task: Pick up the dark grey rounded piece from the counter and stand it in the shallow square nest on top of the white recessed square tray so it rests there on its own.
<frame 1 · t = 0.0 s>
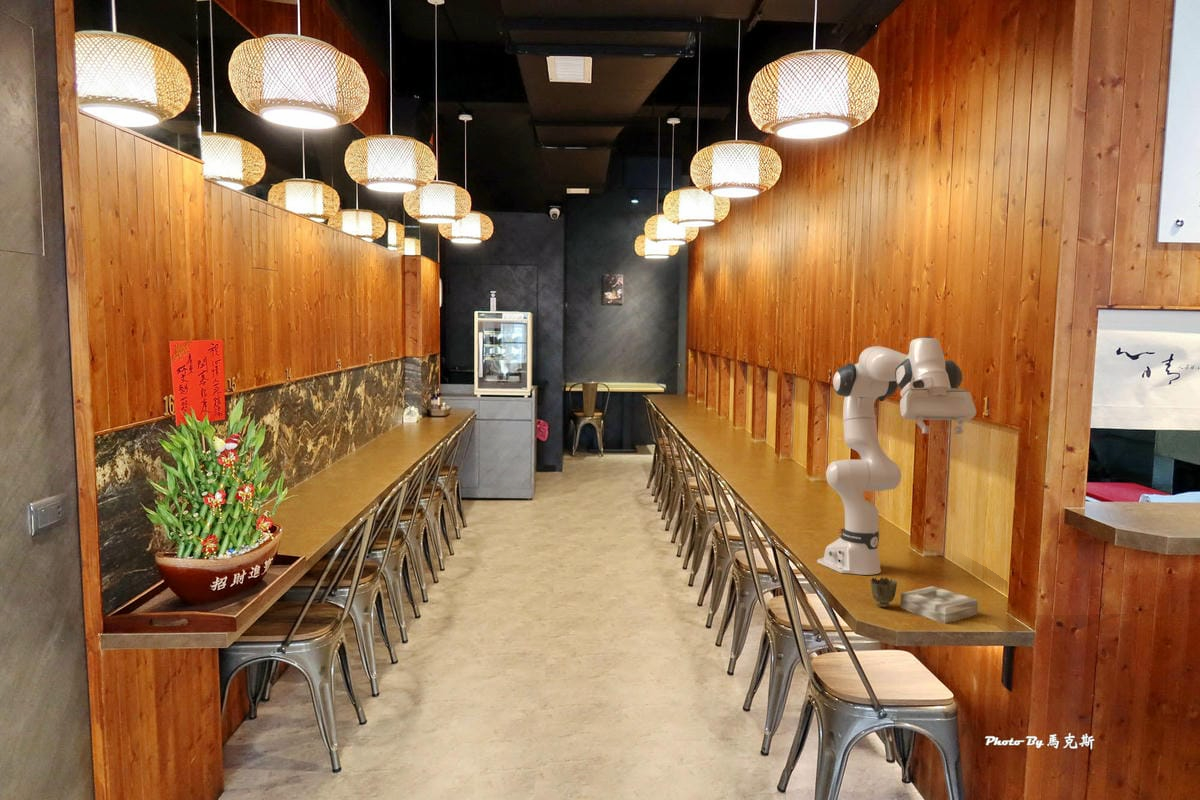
hand: (942, 433, 217), 54 cm above the counter, tool tilted 30°, fingers open, 8 cm apart
white recessed square tray: (938, 612, 232), on the counter
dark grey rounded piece: (882, 607, 236), on the counter
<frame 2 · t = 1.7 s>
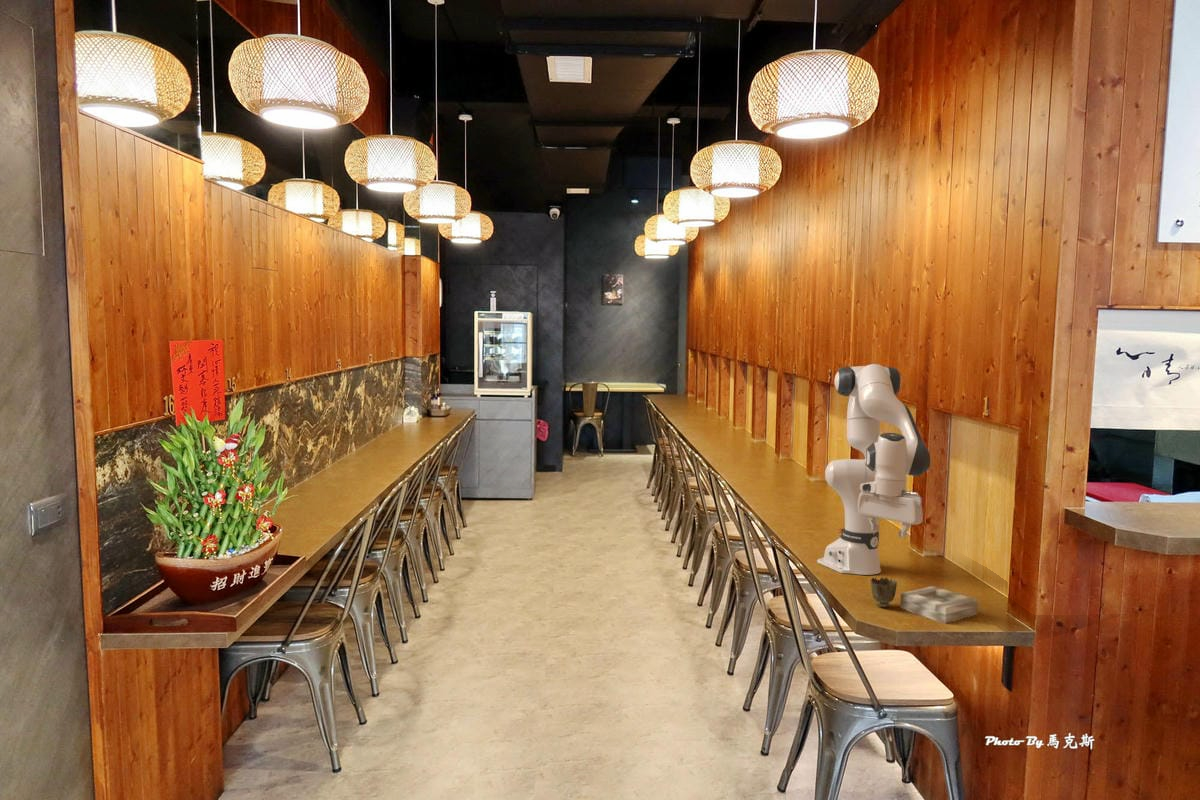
hand: (888, 534, 234), 22 cm above the counter, tool pointing down, fingers open, 8 cm apart
nothing on the counter moved.
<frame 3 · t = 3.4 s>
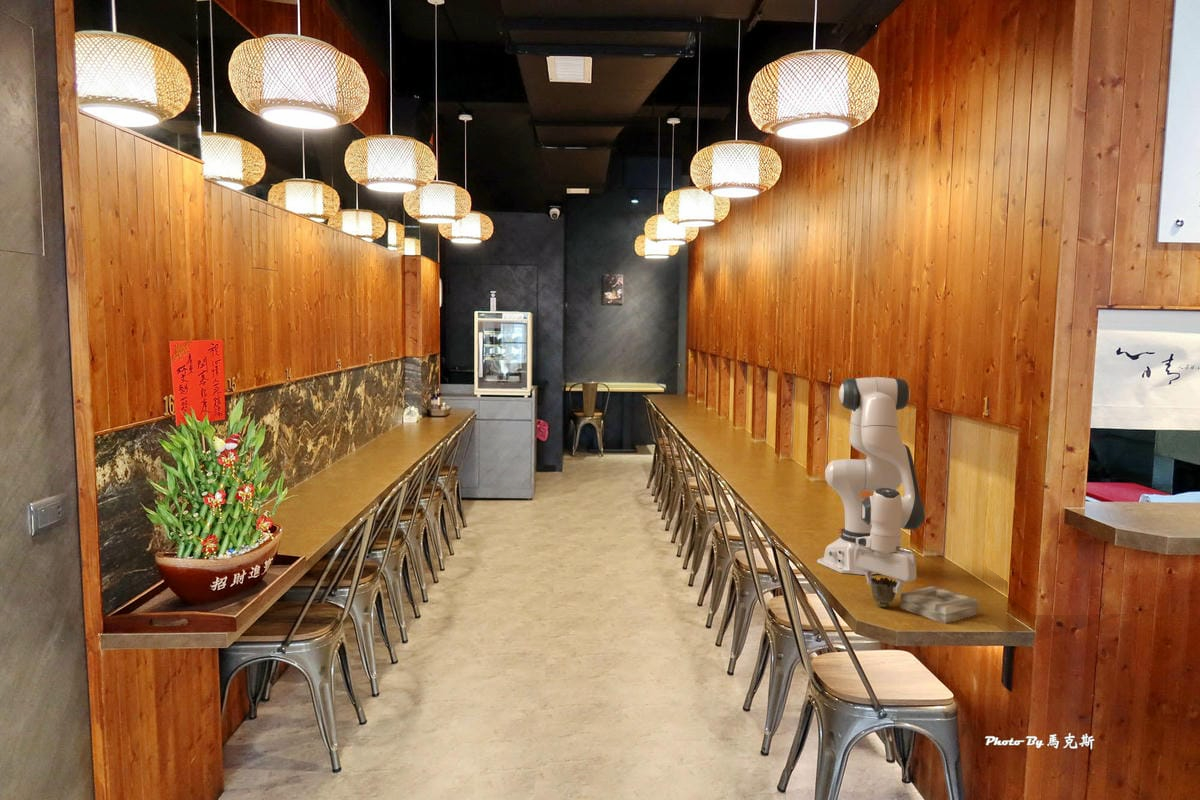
hand: (883, 589, 235), 5 cm above the counter, tool pointing down, fingers open, 8 cm apart
nothing on the counter moved.
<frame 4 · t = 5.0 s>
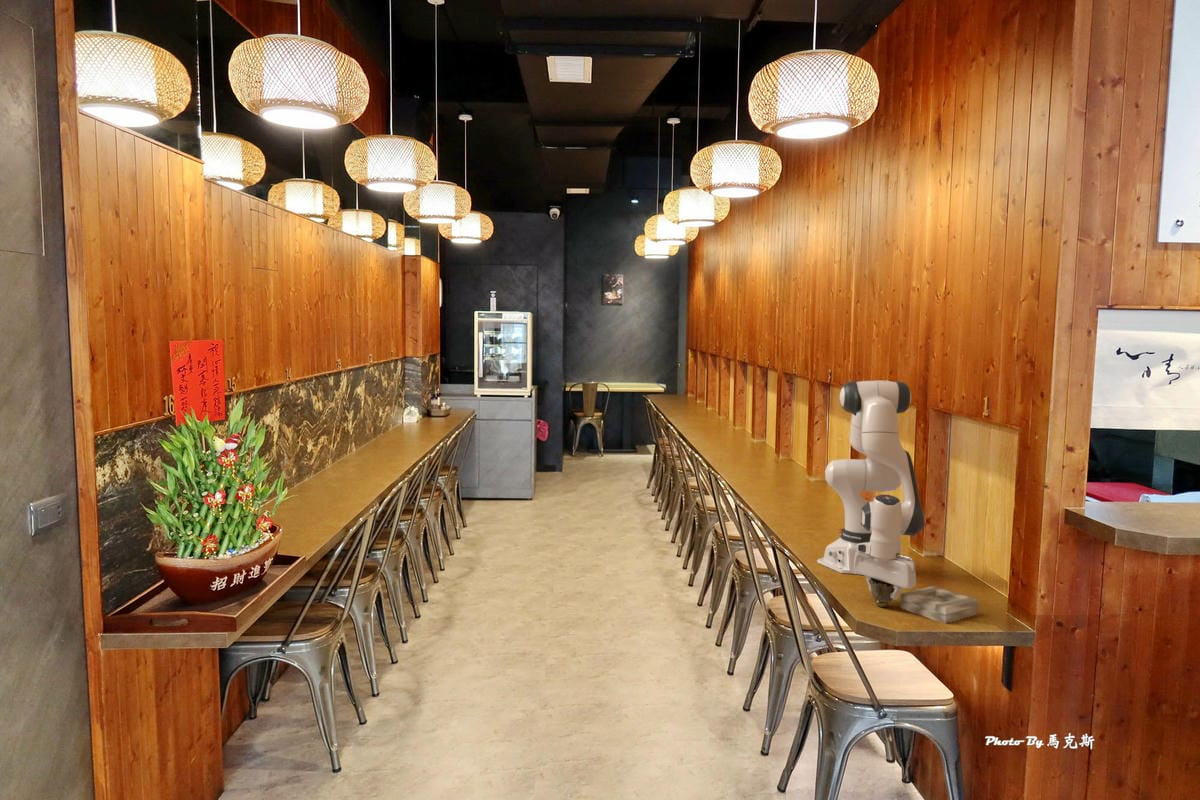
hand: (883, 595, 236), 3 cm above the counter, tool pointing down, fingers closed on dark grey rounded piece, 6 cm apart
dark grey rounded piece: (881, 606, 237), on the counter, touching gripper
everything else where it was.
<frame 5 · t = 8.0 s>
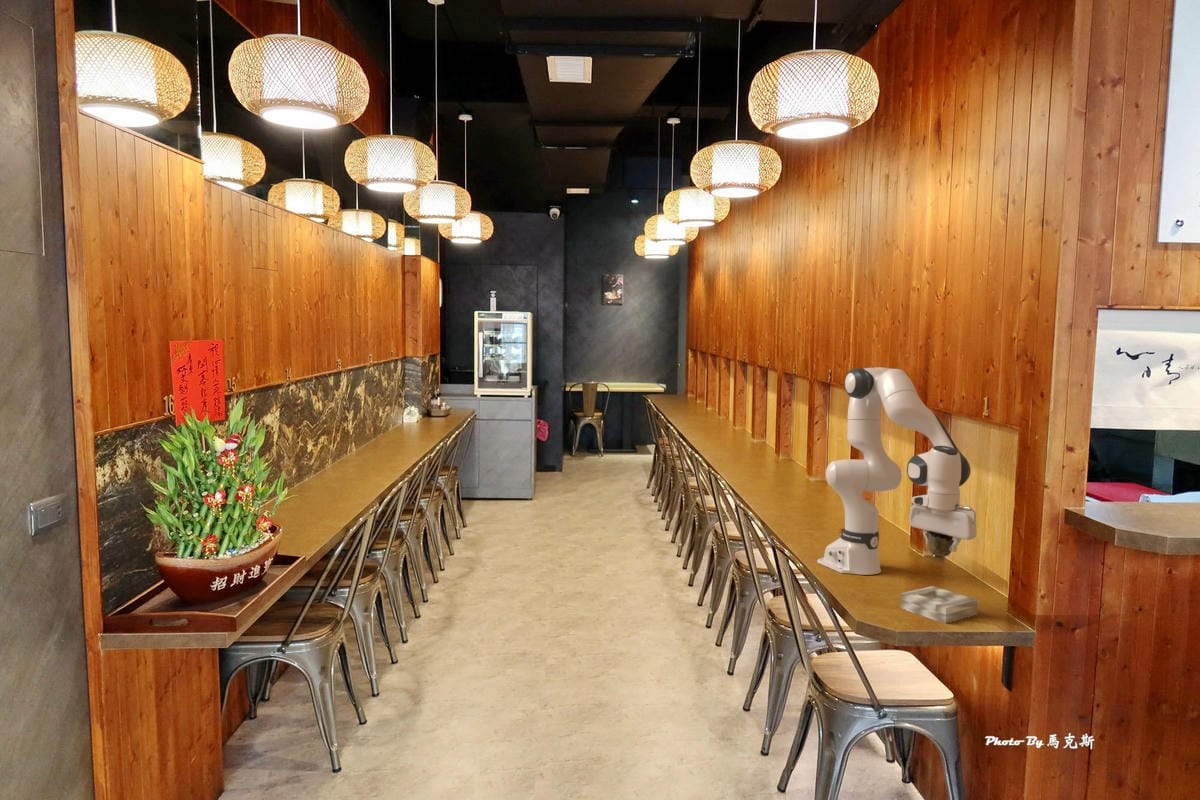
hand: (941, 548, 231), 19 cm above the counter, tool pointing down, fingers closed on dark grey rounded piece, 6 cm apart
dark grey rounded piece: (937, 560, 232), point 15 cm above the counter, touching gripper
everything else where it was.
when the fingers open (7 cm above the counter, at t = 11.6 s): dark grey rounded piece stays where it is, resting on white recessed square tray.
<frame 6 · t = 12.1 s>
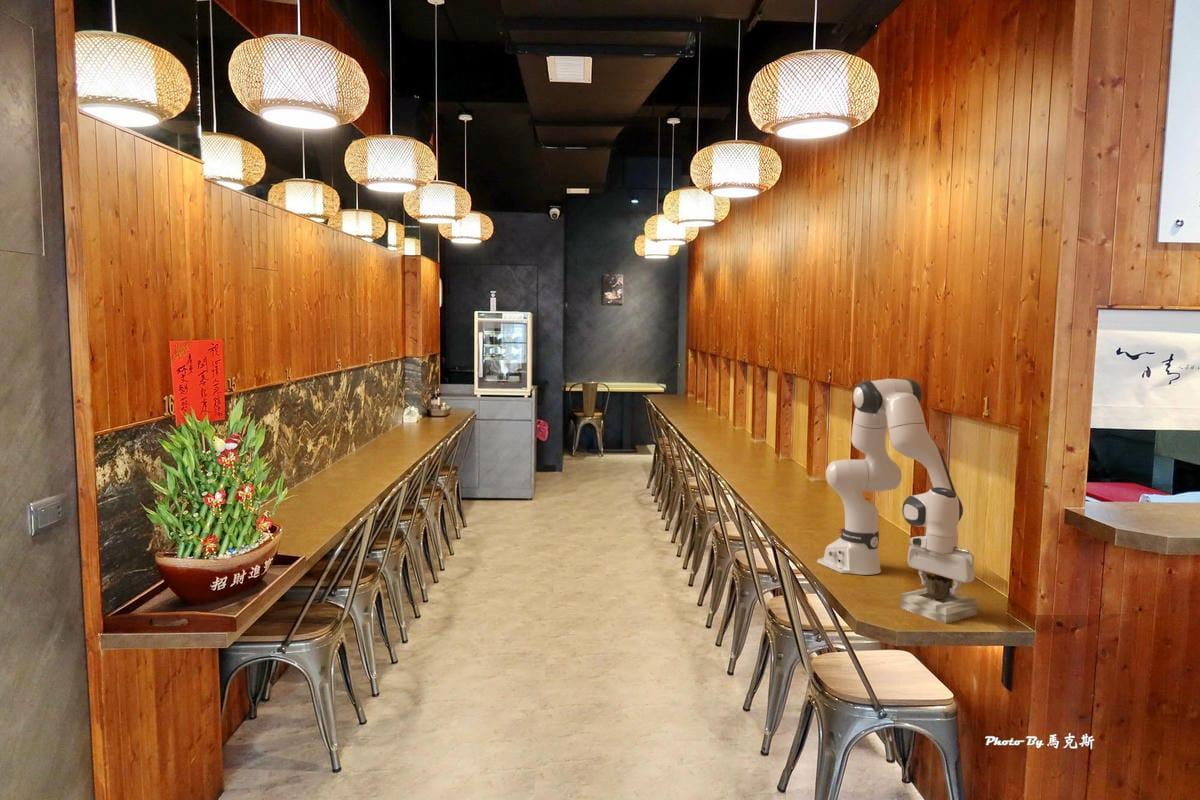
hand: (939, 589, 232), 7 cm above the counter, tool pointing down, fingers open, 8 cm apart
white recessed square tray: (938, 613, 232), on the counter, touching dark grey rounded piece
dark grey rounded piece: (938, 603, 233), point 2 cm above the counter, touching white recessed square tray
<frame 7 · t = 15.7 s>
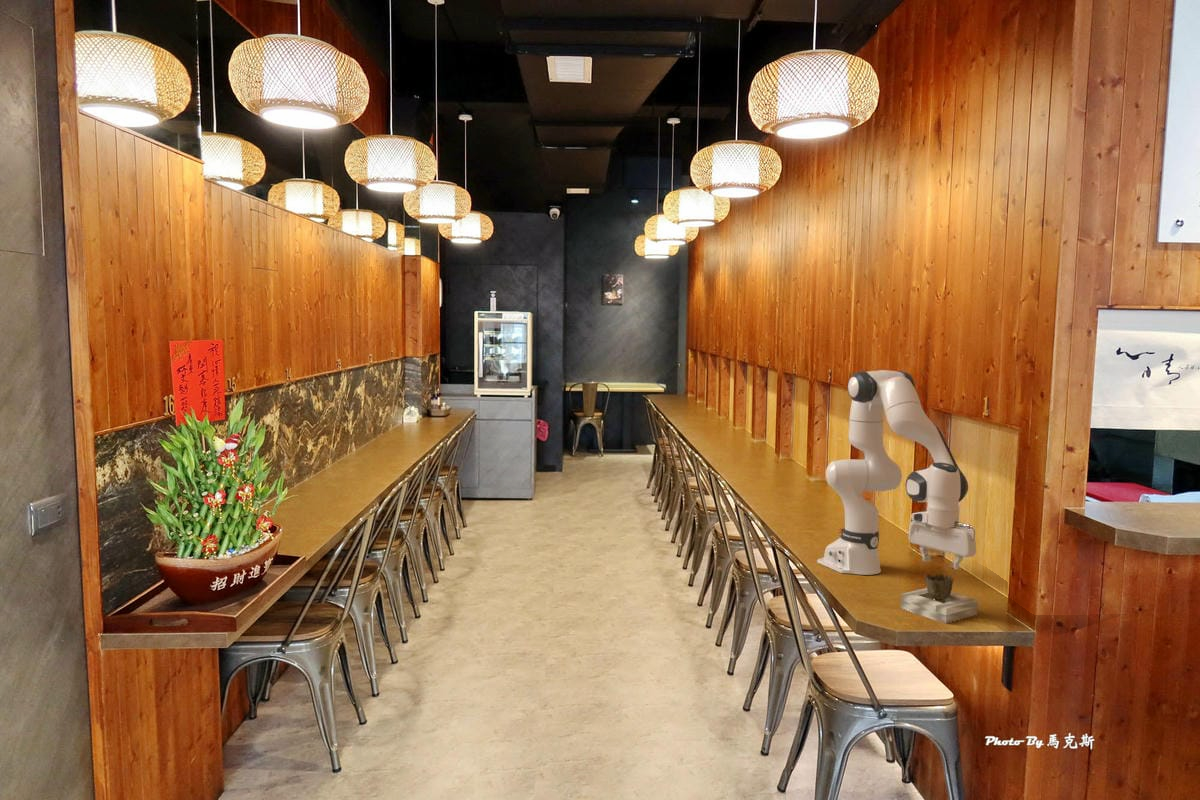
hand: (940, 565, 232), 14 cm above the counter, tool pointing down, fingers open, 8 cm apart
nothing on the counter moved.
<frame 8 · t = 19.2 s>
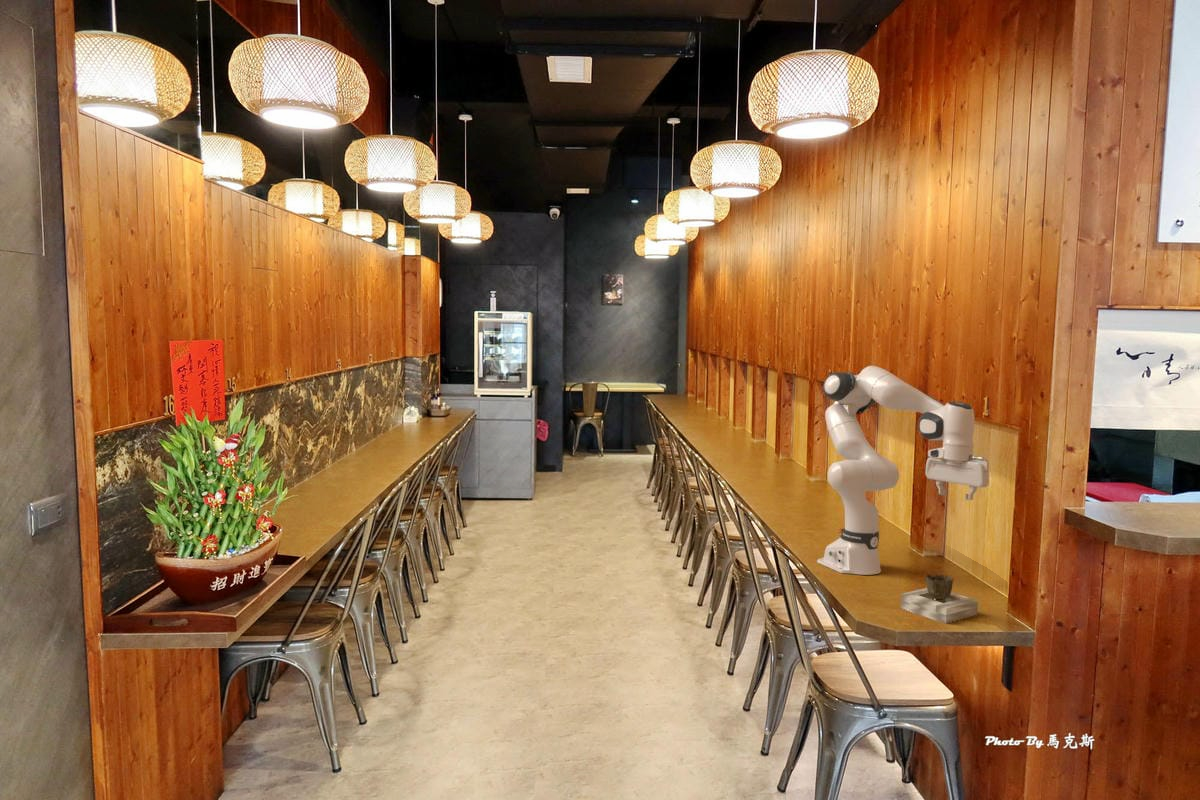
hand: (955, 497, 248), 31 cm above the counter, tool pointing down, fingers open, 8 cm apart
nothing on the counter moved.
at the end: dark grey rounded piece 0.1 cm off-centre on the white recessed square tray, point 2.8 cm above the white recessed square tray's base; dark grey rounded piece tilted 1°; the gripper is holding nothing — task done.
